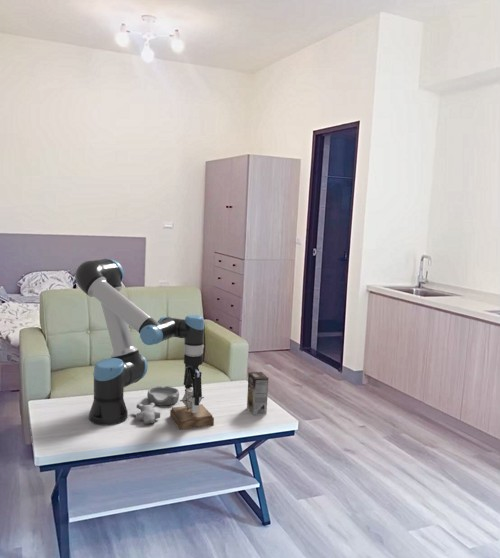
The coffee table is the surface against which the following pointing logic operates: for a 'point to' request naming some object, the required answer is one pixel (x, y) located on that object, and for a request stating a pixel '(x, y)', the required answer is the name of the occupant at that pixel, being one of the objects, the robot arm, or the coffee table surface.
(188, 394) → the game die
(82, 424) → the coffee table surface
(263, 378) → the coffee box
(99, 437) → the coffee table surface
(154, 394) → the dish
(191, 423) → the plinth
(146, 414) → the grey teddy bear
